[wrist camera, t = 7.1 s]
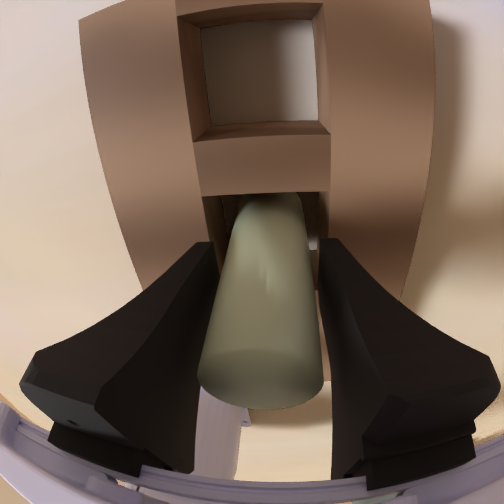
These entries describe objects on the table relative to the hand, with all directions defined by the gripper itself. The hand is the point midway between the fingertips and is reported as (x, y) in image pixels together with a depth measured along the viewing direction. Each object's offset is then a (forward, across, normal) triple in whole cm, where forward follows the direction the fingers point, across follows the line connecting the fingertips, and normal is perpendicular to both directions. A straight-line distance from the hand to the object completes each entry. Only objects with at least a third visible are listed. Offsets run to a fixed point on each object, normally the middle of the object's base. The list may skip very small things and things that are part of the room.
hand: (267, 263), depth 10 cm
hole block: (+4, 0, 0) cm, 4 cm away
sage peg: (+4, 0, 0) cm, 4 cm away
